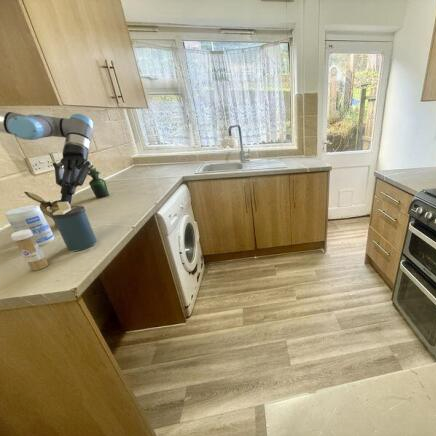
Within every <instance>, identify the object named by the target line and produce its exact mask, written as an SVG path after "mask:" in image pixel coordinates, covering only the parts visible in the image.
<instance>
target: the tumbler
mask: <svg viewBox="0 0 436 436" xmlns="http://www.w3.org/2000/svg"><path fill="white" fill-rule="evenodd" d="M59 210H60V209H59ZM56 211H58V210H56ZM56 211H54V212H56ZM51 212H52V211H51ZM54 212H52V213H51V216H52V218H54V220H55V222H56V225H57V226H56V227H57V229H58V231H59V233H60V235H61V238H62V240H63V243H64V245H65V246H66V248H67V250H68V251H73V253H79V252H83V251H85V250H88V249H90V248H93V247H94V246H95V245H96V243H97V238H96V235H95V233H94V231H93V228H92V226H91V223H90V221H89V217H88V216H87V213H86V208H85V206H83V205H74V206H72V205H71V210H70V211H69V212H67V213H65V214H62V215H53V213H54ZM52 218H51V219H52ZM54 220H53V221H54ZM55 222H54V223H55Z"/></svg>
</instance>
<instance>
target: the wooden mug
mask: <svg viewBox="0 0 436 436" xmlns="http://www.w3.org/2000/svg"><path fill="white" fill-rule="evenodd" d="M23 193H24V194H25V195H26V196H27V197H28V198H29V199H32V200H33V201H35V202H37V203H40V204H39V208H40V209H41V211H42V213H43V215H46V216H47V217H49V218H51V219H52V220H53V222H54V226H55V227H57V225H56V222H55V220H54V218H52V216H51V213H52V212H54V211H56V210H59V207H58V205H57V203H58V202H62V201H61V199H57V200H54V201H46V200H44V199H43V198H42V197H40V196H39V195H37V194H36V193H33V192H30V191H24V192H23ZM71 204H72V203H71ZM71 204H69V205H70V207H72V205H71ZM48 208H49V210H50V211H48V210H47V209H48Z"/></svg>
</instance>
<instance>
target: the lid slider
mask: <svg viewBox="0 0 436 436" xmlns="http://www.w3.org/2000/svg"><path fill="white" fill-rule="evenodd" d="M57 205H58V207H59V209H60V210H58V211H56V212H54V213H53V215H62V214H65V213H67V212H69V211H70V210H71V207H72V206H71V207H70V205H69V202H58V203H57Z"/></svg>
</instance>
